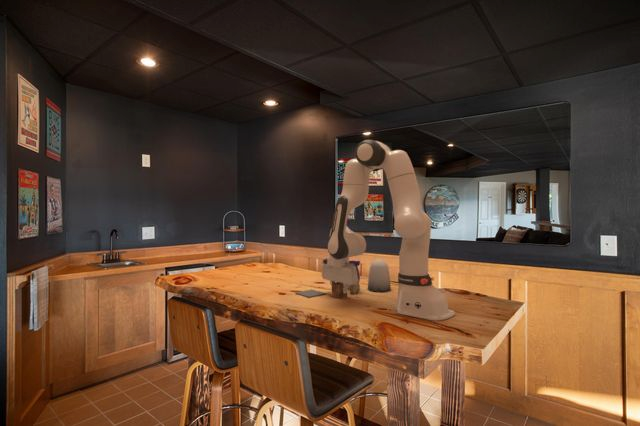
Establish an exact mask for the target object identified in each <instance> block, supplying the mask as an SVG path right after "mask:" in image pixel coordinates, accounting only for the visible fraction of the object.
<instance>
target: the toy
mask: <svg viewBox="0 0 640 426" xmlns="http://www.w3.org/2000/svg"><path fill="white" fill-rule="evenodd" d="M391 286H392V285H391V277H390V268H389V264H388V262H387V261H386V260H384V259H381V258H377V259H374V260H373V261H371V264H370V265H369V271H368V280H367V290H368V291H370V292H374V291H375V292H376V293H383V292H385V293H388V292H390V291H392V289H391V288H392V287H391Z"/></svg>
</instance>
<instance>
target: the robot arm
mask: <svg viewBox="0 0 640 426" xmlns="http://www.w3.org/2000/svg"><path fill="white" fill-rule="evenodd" d="M354 156H355V158H352V159H349V160H348V161H347V162H346V164H345V167H344V171H343V180H342V190H341V193H340V196H339V197H338V198H337V201H336V203H335V206H334V207H335V208H334V212H333V217H332V224H331V228H330V231H329V238H328V241H327V244H326V245H327V246H326V247H327V252H328V254H329V257H326V258H323V259H322V260H321V264H322V266H321V277H322V279H323V280H327V281H329V283H330V286H331V287H332V283H336V282H339V283H343V286H344V288H343V289H342V293H344V294H345V293H347V294H348V289H347V288H348V286H349V285H356V284H357V283H358V276H357V270H356V266H355V265H354V264H352V263H349V261H350V258H352V257H357V256H361V255H363V254H364V253H365V252H366V250H367V240H366V238H365V236H363V235H362V234H359V233H357V232H354V231H353V230H352V229H350V228H349V227H348V225H347V224H348V223H347V222H348V219H349V215H350V213H351V212H352V211H353V210H355V208H356V209H357V208H358V207H359V206H361V205H363V204H364V203H365V202H366V201H367V199H368V196H369V191H370V186H369V185H370V176H371V173H372V172H377V171H381V170H384V172H385V176H386V179H387V183H388V188H389V192H390V195H391V200H392V207H393V208H392V209H393V218H394V222H393V223H394V224H393V226H394V231H395V233H396V234H397V235H398V236H399V237H400V238H402V239H401V245H400V249H399V254H398V255H399V256H398V258H399V262H398V263H399V265H398V266H399V267H398V268H399V269H398V275H397V282H398V291H397V292H398V293H397V299H396V303H395V306H394V309H395V310H396V312H397V314H399V315H404V316H409V317H415V318H419V319H424V320H429V321H435V322H436V321H444V320H447V319H451V318H453V317H454V316H455V311H454V310H453V309H452V310H451V309H449V303H448V299H447V297H446V296H445V295H444V294H443V293H442V292H441V291H440V290H439V289H438V288H437V287H435V285H433V282H432V281H435V276H434V277H433V276H432V277H431V275H430V274H429V251H430V242H431V234H432V233H431V231H432V229H431V228H432V220H431V217H430V216H429V215H428V213H426V212H424V211H423V210H422V202H421V190H420V187H419V183H418V180H417V176H416V173H415V169H414V167H413V164H412V161H411V158H410V157H409V155H408V152H406V151H404V150H403V149H402V150H401V149H395V150H392V148H391V147H390V146H389V145H387V144H385V143H383V142H382V141H378V140H373V139H365V140H362V141H361V142H359V143H358V144H357V146H356V147H355V150H354Z"/></svg>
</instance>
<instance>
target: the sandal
mask: <svg viewBox="0 0 640 426" xmlns="http://www.w3.org/2000/svg"><path fill="white" fill-rule="evenodd" d="M349 263H352V264H354V265H355V266H356V270H357V276H358V283H357V284H356V285H349V286H348V288H347V290H349V291H350V293H351V295H358V291H359V290H360V288H361V287H360V286H361V285H360V280H361V275H360V271H359V268H358V267H359V266H360V265H361V261H360V260H349Z"/></svg>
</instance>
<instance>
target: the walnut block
mask: <svg viewBox="0 0 640 426" xmlns="http://www.w3.org/2000/svg"><path fill="white" fill-rule="evenodd" d="M343 288H344V286H343V283H339V282H335V283H332V286H331V297H332V298H336V299H339V300H340V299H343V298H347V297H348V292H347V293H345V294H344V293H342V289H343Z"/></svg>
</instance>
